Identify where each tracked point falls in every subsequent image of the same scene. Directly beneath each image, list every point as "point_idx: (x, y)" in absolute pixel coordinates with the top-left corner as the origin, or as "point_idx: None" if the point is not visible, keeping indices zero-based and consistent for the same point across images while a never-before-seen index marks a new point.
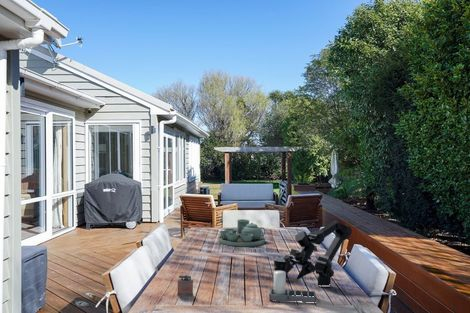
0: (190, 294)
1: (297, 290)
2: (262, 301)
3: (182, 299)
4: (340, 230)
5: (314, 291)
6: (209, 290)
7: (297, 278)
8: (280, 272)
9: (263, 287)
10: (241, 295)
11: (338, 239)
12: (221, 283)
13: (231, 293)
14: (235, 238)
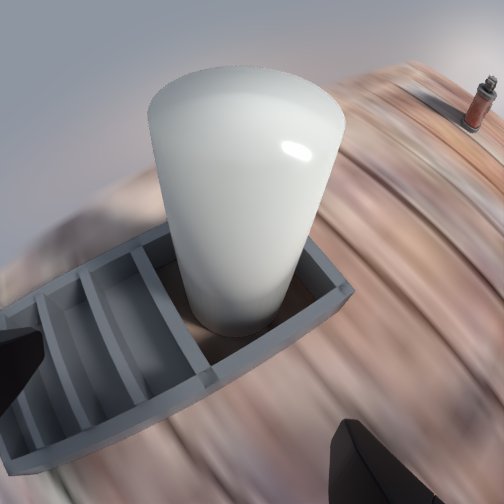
0: (462, 120)
1: (124, 420)
2: None
3: (439, 100)
4: None
5: (10, 470)
6: (493, 176)
7: (31, 331)
8: (230, 98)
9: (460, 388)
10: (411, 192)
11: None
12: None
13: (448, 189)
14: None
